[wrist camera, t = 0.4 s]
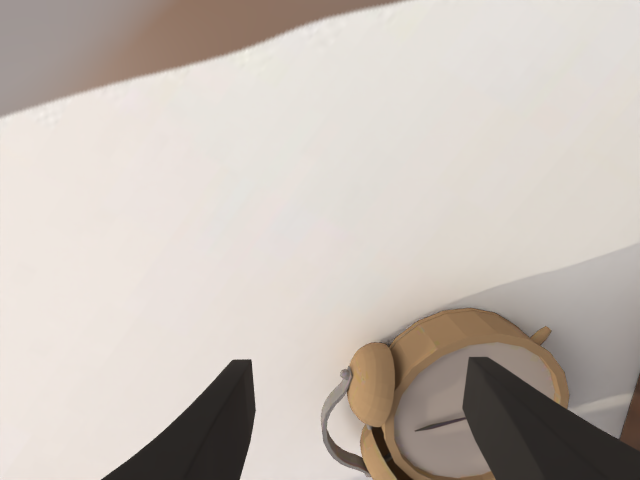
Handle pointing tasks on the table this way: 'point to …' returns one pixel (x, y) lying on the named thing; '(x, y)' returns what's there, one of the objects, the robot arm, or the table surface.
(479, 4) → the table surface
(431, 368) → the alarm clock
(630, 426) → the dumbbell
